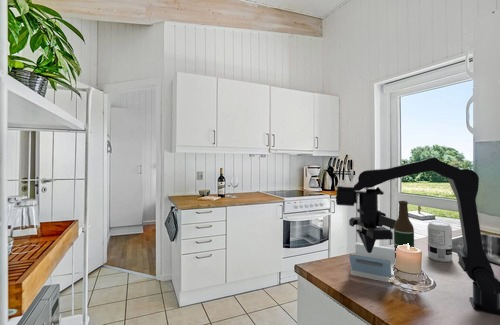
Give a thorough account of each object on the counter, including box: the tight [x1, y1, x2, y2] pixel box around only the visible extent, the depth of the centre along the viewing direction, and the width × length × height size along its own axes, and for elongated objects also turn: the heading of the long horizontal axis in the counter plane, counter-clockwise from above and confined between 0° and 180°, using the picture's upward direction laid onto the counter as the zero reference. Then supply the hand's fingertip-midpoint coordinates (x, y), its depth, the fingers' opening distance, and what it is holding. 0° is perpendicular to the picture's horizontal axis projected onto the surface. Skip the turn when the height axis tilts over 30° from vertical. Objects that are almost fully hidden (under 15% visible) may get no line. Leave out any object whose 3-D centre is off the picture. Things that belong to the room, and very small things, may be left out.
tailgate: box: [349, 253, 391, 278], centre depth 86 cm, size 2×13×8 cm
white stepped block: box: [350, 242, 396, 283], centre depth 95 cm, size 14×14×8 cm
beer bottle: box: [393, 200, 415, 251], centre depth 111 cm, size 8×8×24 cm
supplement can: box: [427, 221, 453, 263], centre depth 106 cm, size 8×8×15 cm
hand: (369, 252), depth 85 cm, fingers closed
